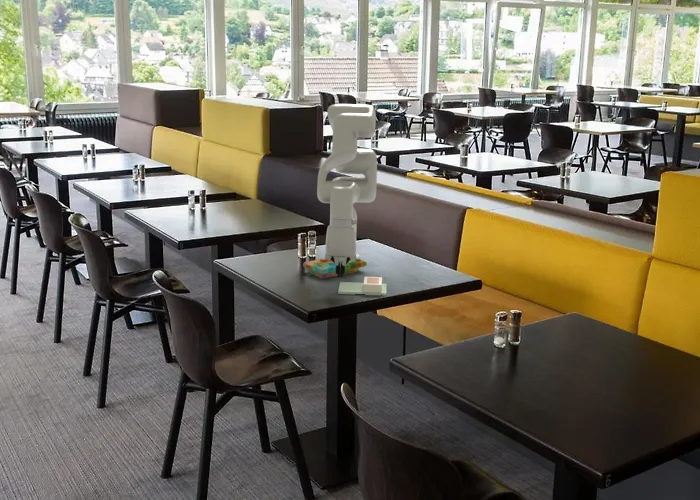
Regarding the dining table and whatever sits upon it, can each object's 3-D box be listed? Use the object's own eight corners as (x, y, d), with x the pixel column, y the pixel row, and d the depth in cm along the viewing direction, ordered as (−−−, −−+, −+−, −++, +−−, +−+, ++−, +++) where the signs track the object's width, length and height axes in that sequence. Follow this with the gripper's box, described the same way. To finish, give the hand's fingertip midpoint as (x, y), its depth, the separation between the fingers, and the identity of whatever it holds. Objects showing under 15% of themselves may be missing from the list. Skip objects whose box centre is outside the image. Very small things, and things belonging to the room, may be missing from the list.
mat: (340, 284, 273) (340, 281, 272) (386, 285, 272) (386, 283, 272) (337, 293, 262) (337, 291, 262) (386, 295, 261) (386, 293, 261)
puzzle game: (303, 260, 285) (347, 252, 297) (303, 273, 286) (346, 264, 298) (322, 267, 276) (366, 259, 288) (322, 280, 277) (366, 272, 289)
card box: (364, 276, 270) (382, 277, 270) (364, 283, 271) (381, 284, 271) (363, 284, 262) (381, 284, 261) (363, 291, 262) (381, 292, 262)
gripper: (364, 221, 265) (362, 273, 270) (319, 219, 265) (318, 272, 270) (363, 226, 258) (362, 280, 262) (318, 224, 258) (317, 278, 263)
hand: (340, 275), depth 266 cm, fingers closed
